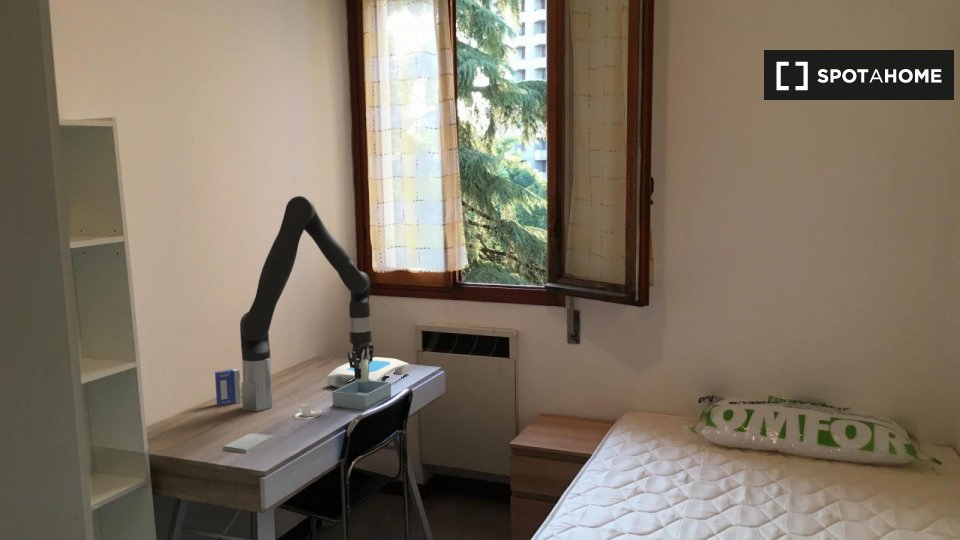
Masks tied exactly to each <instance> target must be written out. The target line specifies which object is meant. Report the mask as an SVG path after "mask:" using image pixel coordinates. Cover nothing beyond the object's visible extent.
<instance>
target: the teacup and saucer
mask: <svg viewBox="0 0 960 540" xmlns="http://www.w3.org/2000/svg"><path fill="white" fill-rule="evenodd" d="M300 407H301V409H300ZM298 410H299V412H298V413H296V414H294V418H295V419H298V420H307V419H308V420H309V419H314V418H317V417H319V416H321V415H323V410H321V409H317V410H314V411H313V410H312V403H309V402H306V403H303V404H300V405H299V406H298ZM300 415H302V416H303V417H300ZM311 416H312V417H311Z"/></svg>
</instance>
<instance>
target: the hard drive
mask: <svg viewBox="0 0 960 540" xmlns="http://www.w3.org/2000/svg"><path fill="white" fill-rule="evenodd" d="M273 439H274V436H273V435H271V434H270V435H269V434H263V433H256V432H250V433H248V434H247V435H244V436H243V437H240V438H238V439H236V440H234V441H232V442H230V443H228V444H225V445H224V446H223V449H222V450H225V451H230V452H237V453H243V454H247V453H249V452H251V451H253V450H255V449H257V448H259V447H260V446H262V445H264V444H266V443H268V442H270V441H272V440H273Z"/></svg>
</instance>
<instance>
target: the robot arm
mask: <svg viewBox="0 0 960 540" xmlns="http://www.w3.org/2000/svg"><path fill="white" fill-rule="evenodd" d="M284 210H285V211H284V214H283V216H282V217H283V218H282V221H281V224H280V225H281V226H279V231H278V233H277V236H276V237H275V238H274V241H273V243H272V246H271V247H270V250H269V252H268V253H267V256H266V259H265V260H264V261H265V262H264V264H263V266H262V269H261V271H260V275H259V279H258V284H257V289H256V293H255V297H254V299H253V302H252V304H251V306H250V308H249V311H247V312H246V313H244V314H243V315H242V317H241V319H240V322H239V329H240V330H239V333H240V350H241V359H242V360H241V361H242V362H241V364H242V378H243V379H242V382H241V400H242V401H241V402H242V410H244V411H249V412H259V411H264V410H269V409H270V408H272V407H273V406H274V405H273V388H272V386H273V385H272V365H271V364H272V363H271V348H270V338H269V337H270V336H269V330H270V328H271V324H272V321H273V316H274V312H275V310H276V306H277V304H278V302H279V300H280V298H281V296H282V294H283V291H284V290H285V288H286V286H287V282H288V281H289V278H290V276H291V273H292V272H293V268H294V265H295V262H296V259H297V253H298V249H299V243H300V239H301V237H302V235H303V233H304V232H306V233H307V234H308V235H309V237H310V238H311V239H312V240H313V242H314V243H315V245H316V246H317V247H318V249H319V251H320V252H321V253H322V255H323V257H325V259H326V260H327V261H328V263H329V264H330V265H331V266H332V267H333V269H334V270H335V272H337V274H338V276H339V278H340V280H341V281H342V283H343V284H344V286H345V288H347V289H348V291H349V292H350V301H349V304H348V310H349V313H348V314H349V322H348V325H349V326H348V330H349V332H348V334H349V343H350V344H351V345H352V349H351V351H347V358H348V363H350V368H354V373H355V379H361V369H360V368H361V363H362V362H363V359H368V373H369V364H370V362H372V360H373V358H374V351H375V350H374V349H375V346H374V344H370V343H371V342H372V320H371V311H370V307H371V306H370V297H371V296H370V295H371V294H370V292H371V280H370V277H369V275H368V274H367V273H366V272H364V271H360V270H359V269H358V268H357V266H356V265H355V263H354V259H353V257H352V256H351V255H350V254H349V252H348V251H347V250H346V248H345V247H344V246H343V245H342V244H341V242H340V241H339V240H338V239H337V238H336V237H335V236H334V235H333V233H331V232H330V230H329V229H328V228H327V226H326V225H325V223H324V221H322V219H321V217H320V215H319V213H318V212H317V210H316V208H315V205H314V203H313V202H312V201H311V200H310V199H309V198H308V197H306V196H301V195H297V196H294V197H291V199H290V200H289V201H288V202H287V203H286V206H285V209H284ZM357 359H359V360H357ZM353 362H354V363H353ZM357 362H358V363H357Z"/></svg>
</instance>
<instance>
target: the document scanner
mask: <svg viewBox="0 0 960 540" xmlns="http://www.w3.org/2000/svg"><path fill="white" fill-rule="evenodd" d="M353 363H354V362H353ZM392 371H395V372H394V373H393V374H394V375H395V374H396V375H404V374H405V373H407V372H408V373H409V372H410V364H409V363H408V362H405V361H402V360H400V359H397V358H391V357H380V356H379V357H378V356H375V357H374V356H373V360H372V362H370V364H369V380H371V381H380V382H385V381H383V378H384V377H386V376H385V375H386V374H388V373H390V372H392ZM408 373H407V374H408ZM353 378H355V373H354V368H350V363H349V362H347V363H345V364H343V365H342V364H341V365H340V366H338V367H336V368H335V369H333V370H332V371H331V372H330V373H329V374H328V375H327V376H326V385H327V386H331V387H333V388H336V389H339V388H341V387H344V386H346V385H348V384H350V383H351V382H349V383H347V382H348V381H349V380H351V379H353Z"/></svg>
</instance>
